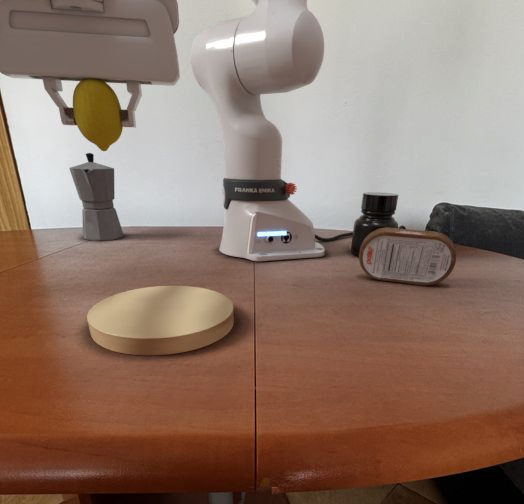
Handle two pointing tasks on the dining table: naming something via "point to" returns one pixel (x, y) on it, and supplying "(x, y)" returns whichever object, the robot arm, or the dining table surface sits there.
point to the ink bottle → (374, 217)
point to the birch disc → (160, 320)
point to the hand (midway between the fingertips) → (99, 126)
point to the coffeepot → (97, 200)
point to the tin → (407, 256)
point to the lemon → (97, 112)
